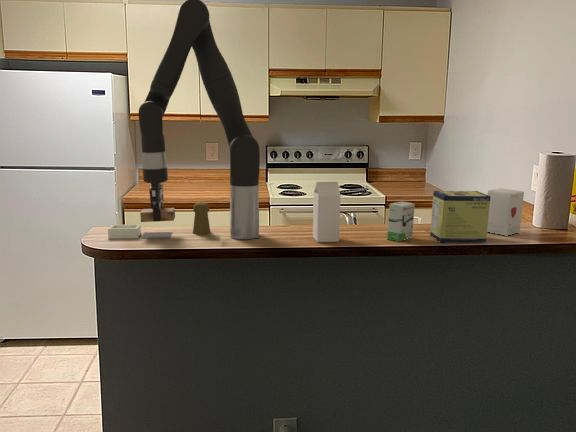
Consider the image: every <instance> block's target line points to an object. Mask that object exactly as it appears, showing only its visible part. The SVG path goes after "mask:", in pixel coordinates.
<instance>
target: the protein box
mask: <svg viewBox="0 0 576 432" xmlns="http://www.w3.org/2000/svg"><path fill="white" fill-rule="evenodd" d="M432 193H433V194H432V196H433V197H432V205H431V221H430V232H429V233H430V234H429V235H431V236H430V237H432V236H433V237H434V239H435V238H436V239H437V240H438V241H437V240H436V239H435V240H436V241H437V242H439V241H440V242H486V243H487V237H488V236H487V234H488V232H487V227H488V217H489V207H490V197H491V196H489V195H488V194H485V193H484V192H481V191H478V190H433V192H432ZM433 237H432V238H433ZM440 242H439V243H440Z"/></svg>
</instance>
